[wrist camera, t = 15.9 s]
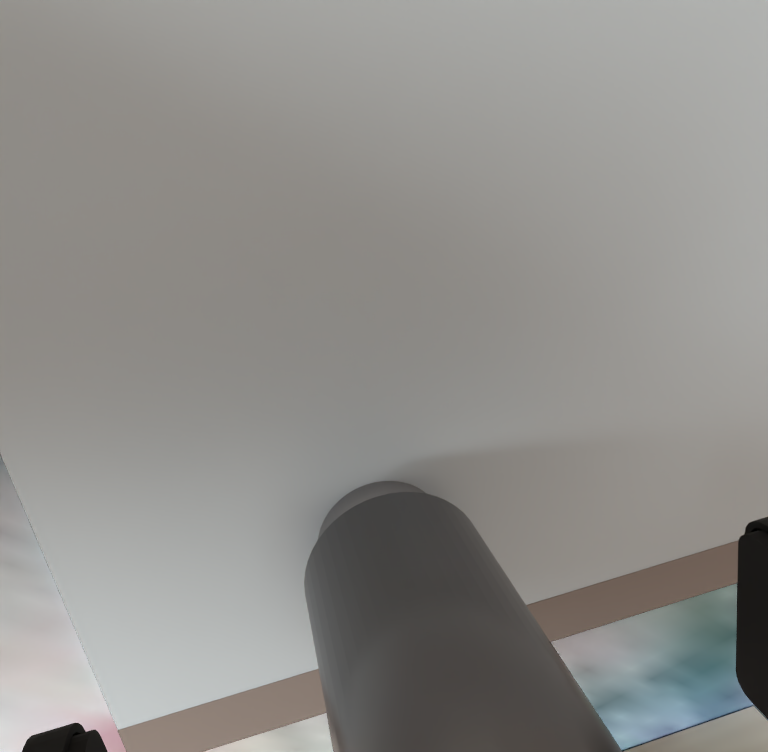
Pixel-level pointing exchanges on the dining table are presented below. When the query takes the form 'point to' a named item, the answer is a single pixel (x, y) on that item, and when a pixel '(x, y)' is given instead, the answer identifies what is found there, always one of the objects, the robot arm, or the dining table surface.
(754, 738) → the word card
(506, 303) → the notepad
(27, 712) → the dining table surface
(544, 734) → the marker
